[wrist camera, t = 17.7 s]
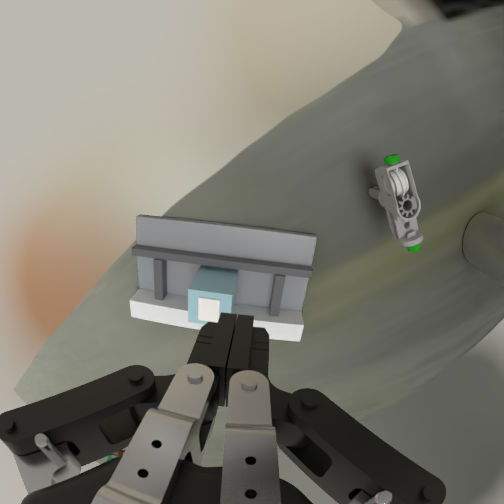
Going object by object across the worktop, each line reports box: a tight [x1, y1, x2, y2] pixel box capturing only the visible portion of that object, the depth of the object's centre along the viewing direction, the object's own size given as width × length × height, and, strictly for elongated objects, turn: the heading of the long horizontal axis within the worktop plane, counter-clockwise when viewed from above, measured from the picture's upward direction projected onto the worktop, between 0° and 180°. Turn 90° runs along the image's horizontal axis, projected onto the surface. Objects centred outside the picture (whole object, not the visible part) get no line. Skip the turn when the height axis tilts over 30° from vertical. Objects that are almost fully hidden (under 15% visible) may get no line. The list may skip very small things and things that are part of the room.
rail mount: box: [130, 215, 317, 342], centre depth 36 cm, size 24×16×5 cm, turn 84°
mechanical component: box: [369, 154, 423, 252], centre depth 28 cm, size 3×10×10 cm, turn 24°
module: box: [188, 265, 238, 324], centre depth 34 cm, size 5×4×7 cm
